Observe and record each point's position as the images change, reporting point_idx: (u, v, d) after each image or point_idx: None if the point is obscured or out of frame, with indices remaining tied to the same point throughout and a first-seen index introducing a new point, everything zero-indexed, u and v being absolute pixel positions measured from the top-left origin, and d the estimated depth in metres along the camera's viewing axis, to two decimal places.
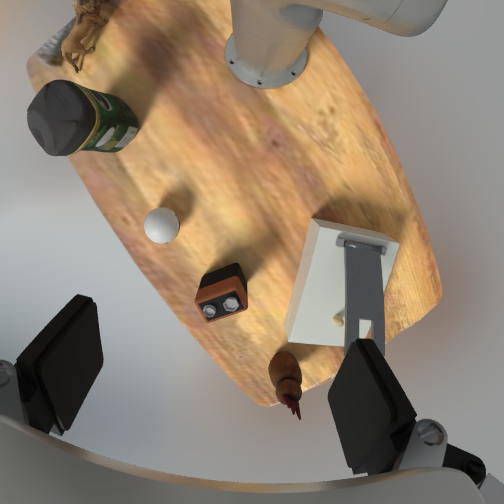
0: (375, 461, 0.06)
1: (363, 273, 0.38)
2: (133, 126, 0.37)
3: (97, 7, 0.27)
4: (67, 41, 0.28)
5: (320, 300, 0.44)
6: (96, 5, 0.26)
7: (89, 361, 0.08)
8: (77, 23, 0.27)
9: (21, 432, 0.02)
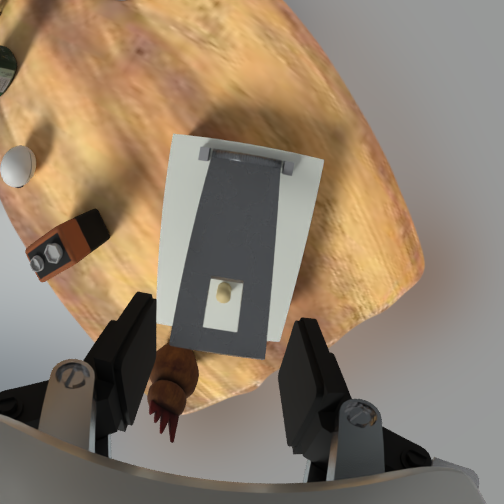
0: (307, 439, 0.07)
1: (235, 197, 0.22)
2: (7, 68, 0.21)
3: None
4: None
5: None
6: None
7: (148, 356, 0.09)
8: None
9: (21, 432, 0.02)
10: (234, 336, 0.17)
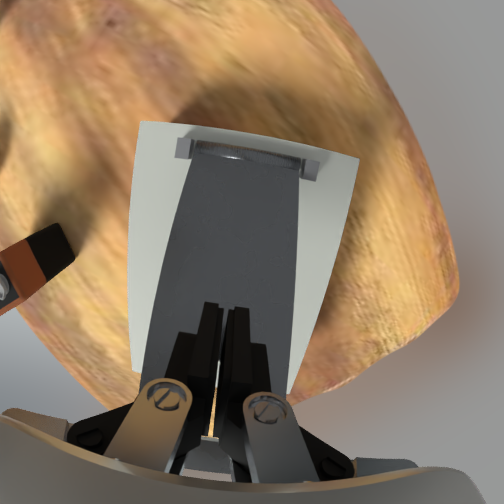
0: (222, 430, 0.07)
1: (229, 219, 0.14)
2: None
3: None
4: None
5: None
6: None
7: None
8: None
9: (21, 432, 0.02)
10: None
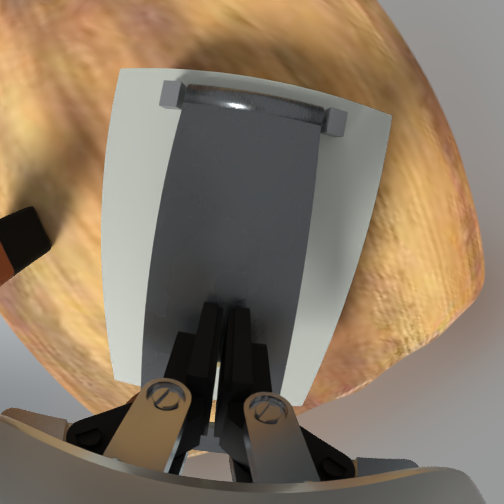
0: (223, 430, 0.07)
1: (228, 198, 0.11)
2: None
3: None
4: None
5: None
6: None
7: None
8: None
9: (21, 432, 0.02)
10: None
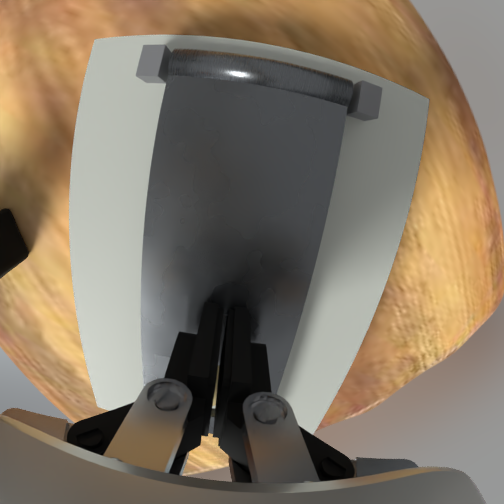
0: (222, 430, 0.07)
1: (226, 201, 0.09)
2: None
3: None
4: None
5: (132, 308, 0.12)
6: None
7: None
8: None
9: (21, 432, 0.02)
10: None
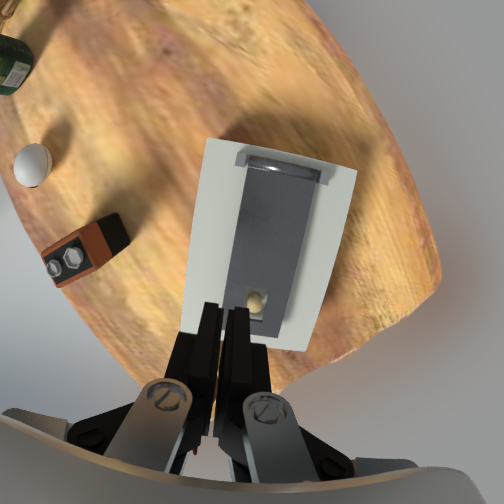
0: (222, 430, 0.07)
1: (269, 217, 0.25)
2: (23, 62, 0.22)
3: None
4: None
5: (219, 265, 0.27)
6: None
7: None
8: None
9: (21, 432, 0.02)
10: (260, 325, 0.27)
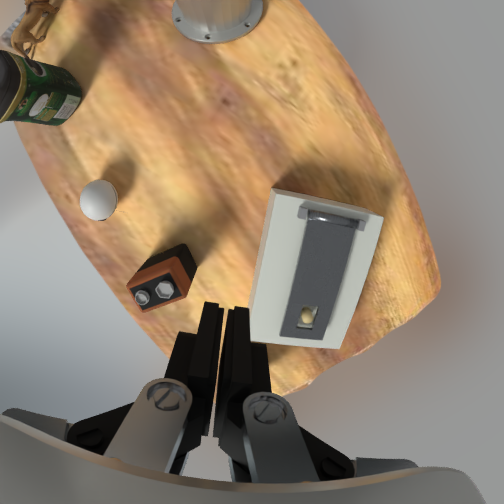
0: (222, 430, 0.07)
1: (322, 255, 0.33)
2: (74, 95, 0.29)
3: None
4: (16, 32, 0.20)
5: (281, 289, 0.36)
6: None
7: None
8: (26, 13, 0.19)
9: (21, 432, 0.02)
10: (310, 331, 0.36)
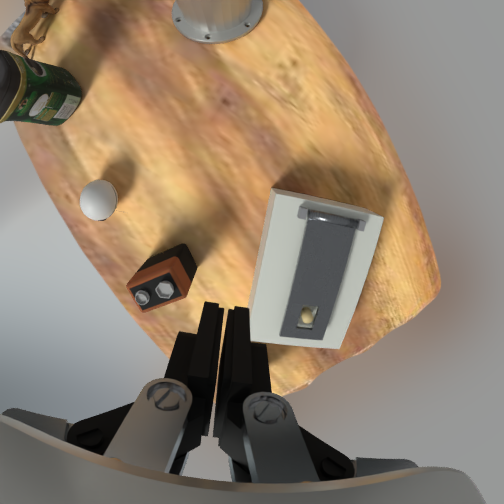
0: (222, 430, 0.07)
1: (322, 255, 0.33)
2: (74, 95, 0.29)
3: None
4: (15, 33, 0.20)
5: (281, 289, 0.36)
6: None
7: None
8: (25, 14, 0.20)
9: (21, 432, 0.02)
10: (310, 331, 0.36)
